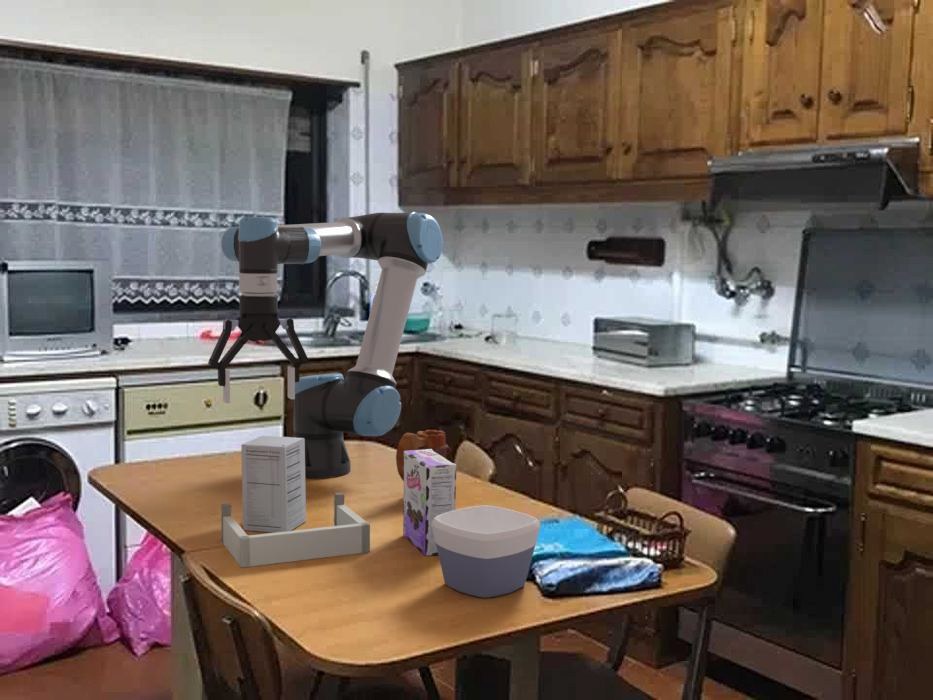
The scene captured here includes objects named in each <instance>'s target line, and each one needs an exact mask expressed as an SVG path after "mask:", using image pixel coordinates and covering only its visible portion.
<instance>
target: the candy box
mask: <svg viewBox="0 0 933 700" xmlns="http://www.w3.org/2000/svg"><path fill="white" fill-rule="evenodd" d="M456 490H457V464H456V463H453V462H452V461H450V460H449V459H447V458H446V459H445V458H444V457H442V456H441V455H439V454H438V453H436V452H434V451H433V450H432V449H421V450H409V451H404V481H403V520H402V521H403V522H402V523H403V524H402V525H403V528H402V530H403V532H402V533H403V536H404V537H405V538H406V539H407V540H408V542H410V543H411V544H412V545H413V546H414V547H416V548H417V549H418V550H419V551H420V552H421V553H422V554H423V555H424V556H425V557H426V556H439V555H438V551H437V547H436V543H435V539H434V535H433V530H432V526H431V523H432V520H433V519H434V518H435V517H436V516H438V515H441V514H444V513H446V512H450V511H453V510H456V500H457V499H456V492H457V491H456Z"/></svg>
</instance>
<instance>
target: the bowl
mask: <svg viewBox="0 0 933 700" xmlns="http://www.w3.org/2000/svg"><path fill="white" fill-rule="evenodd" d="M431 526H432V530H433V535H434V539H435V543H436V547H437V551H438V555H437V556H438V558H439V563H440V568H441V572H442V576H443V581H444V584H445V585H447V587H449V588H450V589H451V588H452V590H454V591H457V592H459V593H462V594H465V595H468V596H472V597H476V598H480V597H481V598H482V599H489V598H495V597H500V596H504V595H508V594H510V593H513V592H515V591H517V590H519V589H521V588H523V587H524V586H525V584H526V581H527V578H528V574H529V570H530V566H531V563H532V560H533V556H534V551H535V548H536V545H537V541H538V537H539V533H540V530H541V523H540V521H539V519H537V518H536V517H534V516H532V515H529V514H527V513H524V512H520V511H517V510H513V509H509V508H505V507H500V506H495V505H487V504H484V505H475V506H468V507H463V508H458V509H455V510H453V511H450V512H446V513H444V514H441V515H438V516H436V517H435V518H434V519H433V520H432V523H431Z"/></svg>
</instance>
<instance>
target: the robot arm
mask: <svg viewBox="0 0 933 700" xmlns="http://www.w3.org/2000/svg"><path fill="white" fill-rule="evenodd" d="M238 225H239V226H232V227H229V228H228V229H226V230H225V231H224V233H223V235H222V237H221V244H220V245H221V250H222V253H223V255H224V256H225V257H226V258H227V260H230V261H232V262H233V261H234V262H238V266H239V267H238V268H239V270H238V272H239V273H238V279H239V280H238V281H239V282H238V285H239V287H238V289H239V290H238V291H239V293H240V294H241V295H240V297H239V298H238V299H239V300H238V301H239V306H238V307H239V316H238V319H237V320H232V319H227V318H225V319H224V320H223V322H222V323H223V324H222V331H221V332H220V333H221V334H220V335H219V338H218V340H217V341H216V343H215V346H214V349H213V351H212V353H211V356H210V357H209V359H208V366H209V367H211V368H215V369H216V370H217V384H218V386H220V387H222V395H223V396H222V398H223V399H222V401H223V402H224V403H225V404H231V377H230V376H231V375H230V374H231V373H230V372H231V370H230V369H228V366H230V364H231V363H232V361H233V360H234V358H235V357H237V354H238V353H239V352H240V351H241V349H242V348H243V347H244V345H246V344H247V342H248V341H251V342H259V341H262V342H268V341H271V342H273V344H274V345H275V346H276V347H277V349H278V350H279V351H280V352H281V354H282V355H283V356H284V357H285V358H286V359H287V361H288V362H289V363H290V364H291V365H287V398H288V399H290V400H292V408H293V409H292V413H293V415H292V416H293V422H292V424H293V437H294V438H304V439H305V479H310V478H311V479H322V478H323V479H324V478H325V479H326V478H335V477H339V476H344V475H346V474H349V473H350V472H351V466H352V465H351V464H352V463H351V459H350V456H349V453H348V450H347V446H346V444H345V441H344V433H349V434H354V435H358V436H361V437H380V436H381V437H382V436H384V435H385V434H387V433H388V432H390V431H391V430H392V429H393V428H394V426H395V425H396V423H397V422H398V420H399V417H400V414H401V411H402V402H401V395H400V393H399V391H398V390H397V389H396V387H397V382H396V380H395V377H393V374H394V373H393V372H394V369H395V365H396V361H397V358H398V353H399V350H400V347H401V342H402V338H403V335H404V331H405V327H406V323H407V319H408V315H409V312H410V308H411V304H412V300H413V297H414V293H415V289H416V285H417V280H418V279H420V278H421V277H424V276H425V275H426V273H427V269H428V265H429V264H433V263H436V262H437V260H439V259H440V257H441V255H442V252H443V248H444V247H443V245H444V244H443V243H444V239H443V235H442V231H441V228H440V225H439V223H438V222H437V219H436V218H434V217H433V216H432V215H430V214H428V213H424V212H417V211H412V212H374V213H368V214H363V215H356V216H350V217H340V218H338V219H337V220H336V221H335V222H317V223H315V222H313V223H301V224H300V223H299V224H298V223H297V224H278V220H277V219H276V218H275V217H272V216H244V217H241V219H240V220H239V223H238ZM336 255H337V256H338V257H340V258H345V259H349V258H350V259H354V258H356V259H365V260H373V261H377V263H378V265H379V267H380V268H381V271H380V275H379V278H378V279H379V280H378V283H377V286H376V287H377V288H376V291H375V294H374V298H373V301H372V305H371V308H370V309H371V310H370V313H369V317H368V319H367V324H366V328H365V331H364V334H363V338H362V342H361V345H360V349H359V354H358V357H357V361H356V365H354V366H353V367H351V368H350V369H348V370H347V372H346V376H345V378H344V375H343V374H342V373H339V372H338V373H336V372H334V373H324V374H323V373H322V374H313V375H305V376H300V367H301V366H303V365H304V364H308V363H309V361H310V360H309V357H308V356H307V354H306V351H305V349H304V347H303V345H302V343H301V341H300V338H299V336H298V335H297V333H296V332H297V331H296V330H295V323H294V319H292V318H290V317H286V318H283V319H279V315H278V312H279V311H278V310H279V308H278V304H279V303H278V298H279V297H278V296H277V295H275V294H276V293H277V292H278V266H279V265H293V264H295V265H297V264H298V265H304V264H311V263H313V262H315V261H316V260H317V259H318V258H320V257H323V256H325V257H326V256H336ZM280 326H281V328H282V329H283V330H285V333H286V334H287V336H288V339H289V341H290V343H291V345H292V347H293V349H294V351H295V354H296V355H297V357H296V356H295V355H294V354H293V352H291V350H290V349H289V348H288V346H287V345H286V344H285V343H284V342H283V341H282V339H281V338H280V336H279V335H278V334H277V330H278V329H279V328H280ZM236 327H237V328H238V329H239V330H240V331H241V332H240V334H239V335H238V336H237V338H236V340H235V341H234V343H233V344H232V345H231V346H230V348H228V351H227V352H226V353H225V354H224V356H223V357H222V354H223V352H224V349H225V348H226V346H227V343H228V341H229V339H230V336H231V334H232V332H233V331H235V329H236ZM221 357H222V358H221Z"/></svg>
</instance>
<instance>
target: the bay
mask: <svg viewBox="0 0 933 700" xmlns="http://www.w3.org/2000/svg"><path fill="white" fill-rule="evenodd" d="M333 503H334V506H333V507H334V508H333V509H334V510H333V511H334V512H333V518H334V519H333V522H334V523H333V525H332V526H324V527H323V526H322V527H314V528H305V529H298V530H297V529H296V530H295V529H293V530H291V531H285V532H276V533H272V532H266V533H260V534H252V535H248V534H247V533H246V532H245V530H243V527H241V525H240V524H239V523H238V522H237V521H236V520H235V518H234V517H233V516H232V505H231V503H221V504H220V508H221V510H220V513H221V514H220V517H221V518H220V520H221V523H220V524H221V525H220V526H221V543H223V545H224V546H225V549H227V551H228V552H229V553H230V554H231V556H232V557H233V559H234V560H235V561H236V563H237V564H238V565H239V567H240V568H249V567H250V568H251V567H257V566H265V565H266V566H267V565H275V564H283V563H290V562H299V561H307V560H315V559H322V558H323V559H324V558H331V557H333V558H334V557H338V556H339V557H341V556H348V555H356V554H363V553H364V554H365V553H370V552H371V523H368V522H367V521H366V520H364V519H363V518H362V517H361V516H360V515H358V514H357V513H356V512H354V510H351V508H350V507H348V506H347V505H345V494H344V492H335V493H334V494H333Z"/></svg>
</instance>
